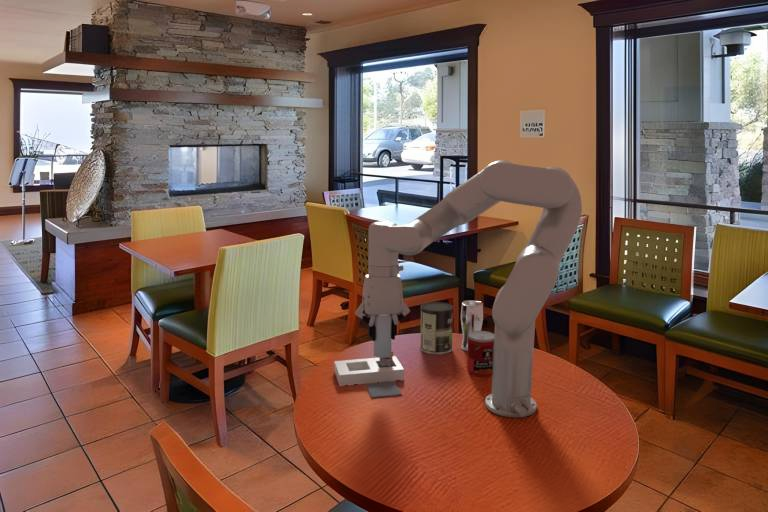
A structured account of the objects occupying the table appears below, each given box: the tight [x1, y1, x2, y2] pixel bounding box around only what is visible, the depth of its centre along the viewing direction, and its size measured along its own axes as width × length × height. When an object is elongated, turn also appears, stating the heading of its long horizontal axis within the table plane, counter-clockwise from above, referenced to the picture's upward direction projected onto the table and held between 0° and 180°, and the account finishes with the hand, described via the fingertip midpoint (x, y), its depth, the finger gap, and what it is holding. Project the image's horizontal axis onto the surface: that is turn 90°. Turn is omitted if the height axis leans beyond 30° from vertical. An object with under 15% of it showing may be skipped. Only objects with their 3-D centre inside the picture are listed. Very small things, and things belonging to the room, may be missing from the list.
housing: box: [334, 355, 405, 387], centre depth 159 cm, size 10×18×3 cm, turn 103°
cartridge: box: [373, 314, 392, 358], centre depth 147 cm, size 5×5×12 cm
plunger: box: [380, 350, 394, 368], centre depth 160 cm, size 4×4×6 cm
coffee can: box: [419, 301, 454, 355], centre depth 179 cm, size 10×10×14 cm
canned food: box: [466, 330, 494, 378], centre depth 161 cm, size 8×8×11 cm
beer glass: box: [460, 299, 484, 352], centre depth 179 cm, size 7×7×15 cm
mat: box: [365, 381, 402, 399], centre depth 150 cm, size 8×8×1 cm
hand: (382, 337), depth 147 cm, fingers closed on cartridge, 4 cm apart
